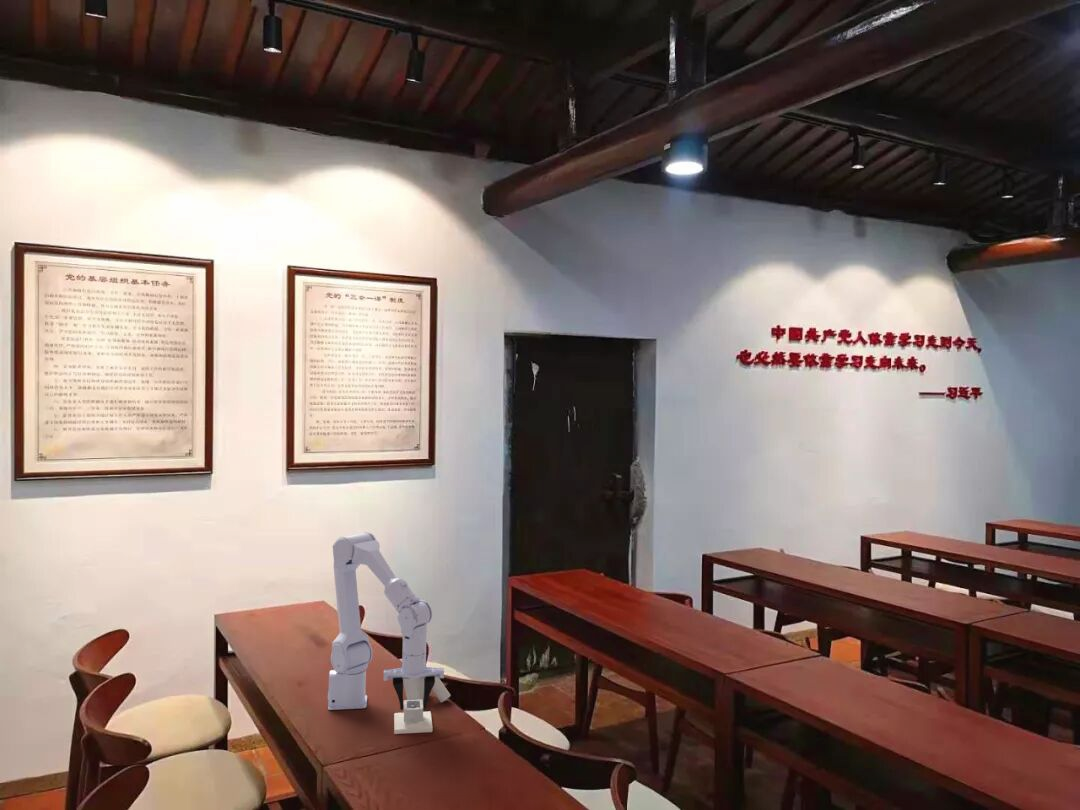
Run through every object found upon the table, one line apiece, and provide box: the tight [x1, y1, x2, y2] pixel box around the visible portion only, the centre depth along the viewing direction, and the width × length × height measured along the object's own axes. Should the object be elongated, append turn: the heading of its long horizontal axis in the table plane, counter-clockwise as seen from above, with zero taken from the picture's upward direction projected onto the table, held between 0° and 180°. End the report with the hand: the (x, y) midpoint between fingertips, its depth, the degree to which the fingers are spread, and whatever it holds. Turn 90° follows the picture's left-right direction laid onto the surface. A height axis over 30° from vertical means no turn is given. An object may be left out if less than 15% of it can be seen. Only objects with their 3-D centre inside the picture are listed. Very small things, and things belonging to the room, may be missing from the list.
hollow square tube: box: [403, 699, 424, 722], centre depth 198 cm, size 6×5×3 cm
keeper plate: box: [393, 705, 433, 735], centre depth 198 cm, size 9×10×4 cm
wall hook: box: [403, 677, 451, 704], centre depth 213 cm, size 8×10×10 cm
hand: (413, 707), depth 198 cm, fingers open, 5 cm apart
